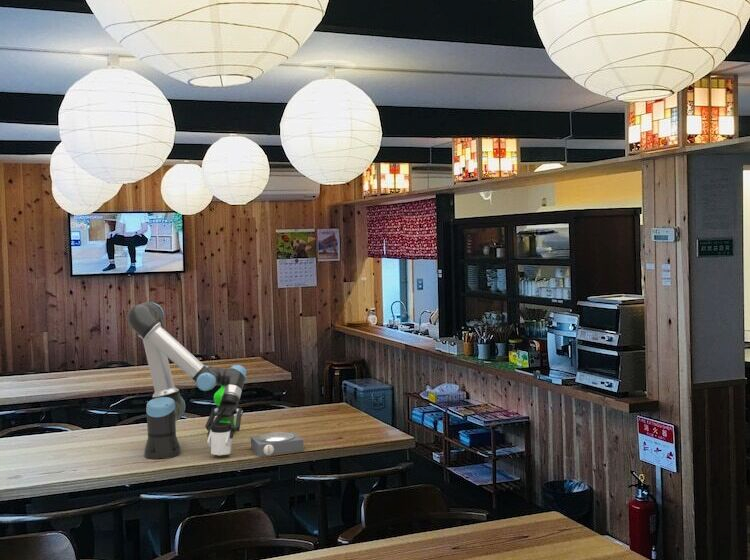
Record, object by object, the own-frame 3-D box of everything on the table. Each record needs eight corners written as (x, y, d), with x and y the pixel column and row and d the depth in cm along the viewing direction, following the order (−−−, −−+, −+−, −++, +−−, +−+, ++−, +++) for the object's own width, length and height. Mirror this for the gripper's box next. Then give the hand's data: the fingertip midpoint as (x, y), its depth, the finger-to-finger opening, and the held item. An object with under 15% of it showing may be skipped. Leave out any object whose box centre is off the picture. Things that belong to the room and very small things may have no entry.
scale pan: (263, 444, 338) (263, 442, 338) (255, 436, 352) (255, 434, 352) (298, 439, 344) (298, 438, 344) (289, 432, 358) (288, 430, 358)
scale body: (259, 457, 337) (259, 445, 337) (251, 448, 352) (250, 436, 352) (303, 451, 344) (303, 439, 343) (293, 442, 359) (293, 431, 359)
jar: (206, 453, 338) (206, 425, 338) (219, 449, 345) (219, 421, 345) (223, 456, 334) (222, 427, 333) (235, 451, 341) (235, 423, 340)
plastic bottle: (226, 436, 374) (223, 382, 373) (210, 434, 381) (208, 381, 379) (241, 432, 382) (239, 379, 381) (226, 429, 389) (224, 377, 387)
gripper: (255, 403, 352) (243, 449, 337) (211, 402, 356) (197, 448, 341) (250, 393, 346) (238, 440, 331) (206, 392, 350) (192, 438, 335)
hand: (217, 444), depth 336 cm, fingers closed on jar, 7 cm apart
